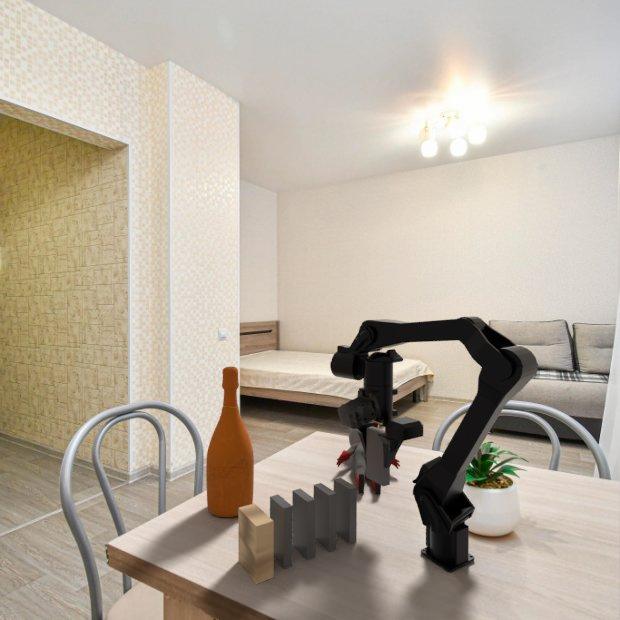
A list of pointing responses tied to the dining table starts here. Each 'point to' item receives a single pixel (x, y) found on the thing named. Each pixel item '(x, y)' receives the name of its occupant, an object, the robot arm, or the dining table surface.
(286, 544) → the tile
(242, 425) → the wine bottle
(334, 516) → the tile
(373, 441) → the tile
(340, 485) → the tile
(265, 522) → the end block
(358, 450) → the toy
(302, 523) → the tile
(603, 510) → the dining table surface
